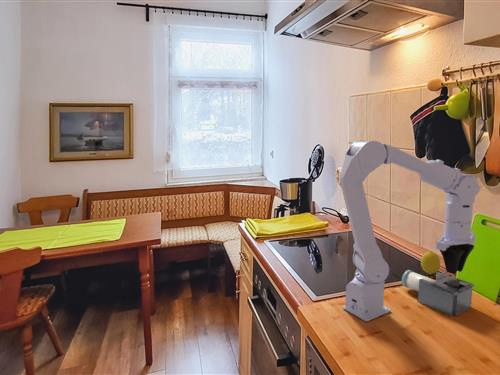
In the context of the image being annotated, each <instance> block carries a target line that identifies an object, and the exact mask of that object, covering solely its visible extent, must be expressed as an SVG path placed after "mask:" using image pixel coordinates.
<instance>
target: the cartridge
mask: <svg viewBox="0 0 500 375" xmlns="http://www.w3.org/2000/svg"><path fill="white" fill-rule="evenodd" d="M419 279H424V280H427V281H429V282H432V283H433V282H436V279H433V278H430V277H428V276H425V275H422V274H419V273H416V272H414V271H413V270H410V269H407V270H405V272H404V273H403V274H402V277H401V284H402V286H403V287H406V288H409V289H412V290H414V291H416V292H419Z"/></svg>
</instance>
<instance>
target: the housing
mask: <svg viewBox="0 0 500 375" xmlns="http://www.w3.org/2000/svg"><path fill="white" fill-rule="evenodd" d="M448 277H453V276H451V275H449V274H446V273H442V272H439V271H437V272H436V273H435V280H436V282H433V283H432V282H429V281H427V280H424V279H419V291H417V292H418V293H417V294H418V295H417V302H418V303H421V304H423V305H425V306H428V307H430V308H432V309H434V310H437V311H438V312H441V313H444V314H446V315H447V316H450V317H453V316H454V317H457V316H459V315H461V314H463V313H465V312H467V311H469V310H470V309H471V308H472V296H473V288H474V287H475V285H476V284H475V283H473V282H469V281H467V280H463V279H460V278H458V279H459V280H460V285H459V288H454V287H451V286H449V285H447V278H448Z"/></svg>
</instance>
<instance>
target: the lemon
mask: <svg viewBox="0 0 500 375" xmlns="http://www.w3.org/2000/svg"><path fill="white" fill-rule="evenodd" d="M420 265H421V268H422V270H423V271H424V273H427V274H428V275H429V276H430V275H433V274H436V273H437V272H439V270H440V268H441V260H440V257H439V255H438V254H437V253H436V252H434V251H432V250H430V251H426V252H425V253H423V255H422V256H421V259H420Z"/></svg>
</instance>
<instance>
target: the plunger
mask: <svg viewBox="0 0 500 375" xmlns="http://www.w3.org/2000/svg"><path fill="white" fill-rule="evenodd" d="M459 279H460V278H458V277H455V276H452V277H448V278H447V285H449V286H451V287H454V288H459V285H460V280H461V279H460V280H459Z"/></svg>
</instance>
